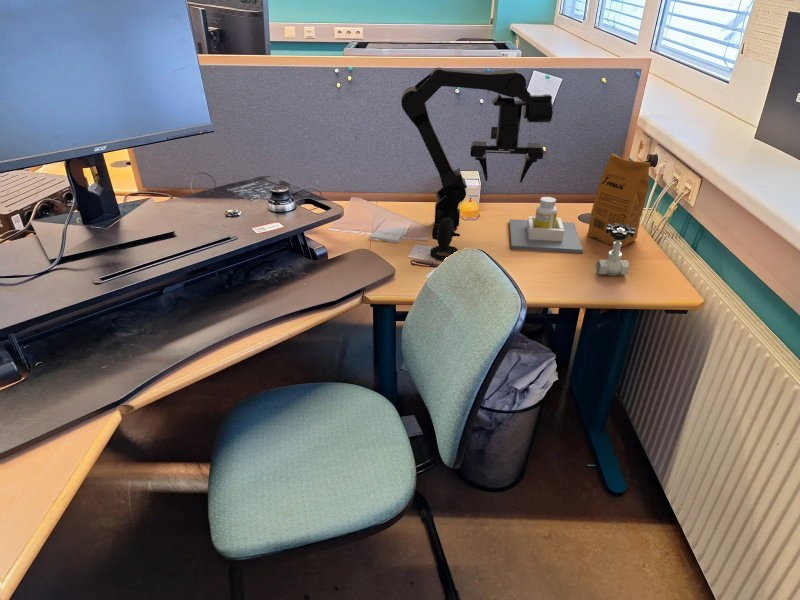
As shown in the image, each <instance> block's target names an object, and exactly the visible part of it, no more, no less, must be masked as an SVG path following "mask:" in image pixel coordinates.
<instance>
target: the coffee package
mask: <svg viewBox="0 0 800 600" xmlns="http://www.w3.org/2000/svg"><path fill="white" fill-rule="evenodd" d="M651 164H652V163H651V162H648V161H636V160H627V159H625V158H623V157H620V156H619V155H617V154H615V153H611V155H610V156H609V158H608V160H607V163H606V165H605V168H604V171H603V174H602V176H601V178H600V182H599V184H598V186H597V189H596V192H595V197H594V201H593V205H592V209H591V212H590V217H589V223H588V224H589V225H588V230H587V237H590V238H595V239H597V240H599V241H600V242H602V243H603V244H606V245H611V246H613V243H614V242H615V241H616V239H614V237H611V235H610V231H609V233H606V232H605V231H606V228H607V225H608V224H611V225H613V226H614V224H615V223H619V224H620V225H622V226H624V225H625V224H627V225H629V228H635V229H636V230H635V235H634V237H630V234H629V235H628V238H627V239H624V240H621V241H620V242H621V243H622V245H621V248H623V247H625V246H627V245H629V244H631V243H632V242H633V241H635V240H636V239H637V238H638V233H639V228H640V221H641V218H642V216H643V212H644V208H645V205H646V199H647V198H648V197H647V196H648V193H649V189H650V186H649V183H650V180H649V179H650V174H649V173H650V168H651ZM614 230H617V228H616V229H614ZM624 232H627V230H624Z"/></svg>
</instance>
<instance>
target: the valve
mask: <svg viewBox="0 0 800 600" xmlns="http://www.w3.org/2000/svg"><path fill="white" fill-rule="evenodd" d="M616 228H617V230H614V229H616ZM624 230H627V232H624ZM635 230H636V229H635V228H629V225H627V224H625V225H624V226H622V225H620V224H619V223H615V224H614V226H613V225H611V224H608V225H607V228H606V231H605V232H606V233H609V231H610V235H611V237H614V239H616V241H615V242H614V243H613V245H612V250H609V251H608V254H607V257H608V259H598V260H597V261H596V264H595V273H596V274H597V275H607V276H609V277H616V276H618V275H628V273H629V271H630V263H629V260H628V259H622V256H623V253H622V252H621V249H622V247H621V245H622V243H621V242H620V241H621V240H624V239H627V238H628V235H629V234H630V237H634V235H635Z"/></svg>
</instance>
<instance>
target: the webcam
mask: <svg viewBox="0 0 800 600" xmlns="http://www.w3.org/2000/svg"><path fill="white" fill-rule="evenodd" d="M434 223H435V222H434ZM431 232H432V233H431V238H432V239H433V240H435V241H437V244H438V245H436V246H434V247H432V248H430V250H429V255H430V256H431V258H432V257H433V258H432V259H434V258H435V259H434V260H436V259H437V260H436V261H439V260H440V262H444V261H443V260H444V259H445V258H446V257H448V256H449V255H451V254H453V253H454V252H456V251H458V250H459V249H458V248H456V247H455V246H454V245H451V242H452V240H453V237H458V238H459V237H460V236H461V233H458V232H455V230H454V226H453V221H452V219H451V218H444V219H443V220H442V221H441V223H440V224H437V223H435V224H434V225H433V226H432V230H431ZM438 253H445V254H447V255H445V254H443V255H442V254H438Z"/></svg>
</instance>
